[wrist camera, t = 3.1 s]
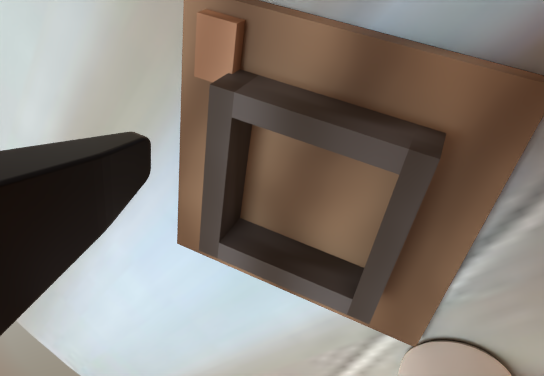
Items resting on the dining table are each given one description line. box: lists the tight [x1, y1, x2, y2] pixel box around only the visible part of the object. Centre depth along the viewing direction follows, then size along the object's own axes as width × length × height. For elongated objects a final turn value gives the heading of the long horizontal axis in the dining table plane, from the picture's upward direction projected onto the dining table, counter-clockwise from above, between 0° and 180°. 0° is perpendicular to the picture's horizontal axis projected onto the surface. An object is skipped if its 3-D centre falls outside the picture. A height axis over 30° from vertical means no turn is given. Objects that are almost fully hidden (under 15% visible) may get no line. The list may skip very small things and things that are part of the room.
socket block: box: [177, 0, 544, 347], centre depth 22 cm, size 16×16×4 cm
